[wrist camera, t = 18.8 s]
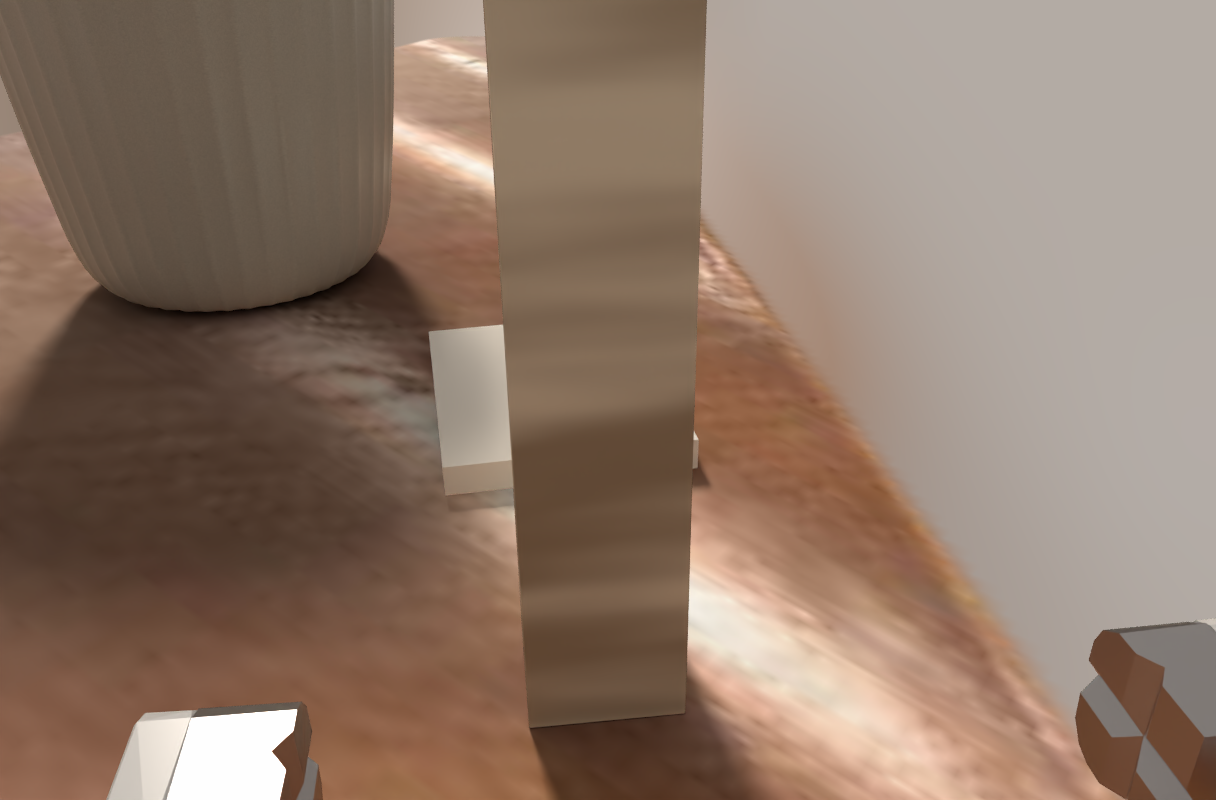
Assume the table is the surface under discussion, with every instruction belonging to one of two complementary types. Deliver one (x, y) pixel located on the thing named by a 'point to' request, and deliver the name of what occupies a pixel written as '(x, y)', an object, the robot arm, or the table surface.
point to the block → (600, 339)
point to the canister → (209, 140)
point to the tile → (475, 409)
